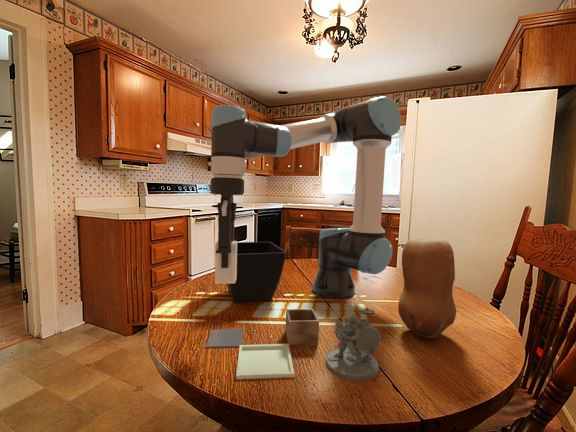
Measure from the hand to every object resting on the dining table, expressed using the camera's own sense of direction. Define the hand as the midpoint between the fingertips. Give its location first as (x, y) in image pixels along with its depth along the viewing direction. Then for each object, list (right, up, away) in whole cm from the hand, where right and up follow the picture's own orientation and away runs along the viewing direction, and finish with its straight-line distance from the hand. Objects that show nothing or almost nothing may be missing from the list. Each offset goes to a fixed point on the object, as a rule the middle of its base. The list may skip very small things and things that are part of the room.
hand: (226, 277), depth 69 cm
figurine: (+28, -17, -8) cm, 33 cm away
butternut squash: (+49, -16, +6) cm, 52 cm away
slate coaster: (0, -15, +1) cm, 15 cm away
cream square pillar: (0, -1, 0) cm, 1 cm away
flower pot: (+2, -13, +32) cm, 34 cm away
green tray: (+10, -16, -8) cm, 20 cm away
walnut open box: (+18, -15, +3) cm, 24 cm away
